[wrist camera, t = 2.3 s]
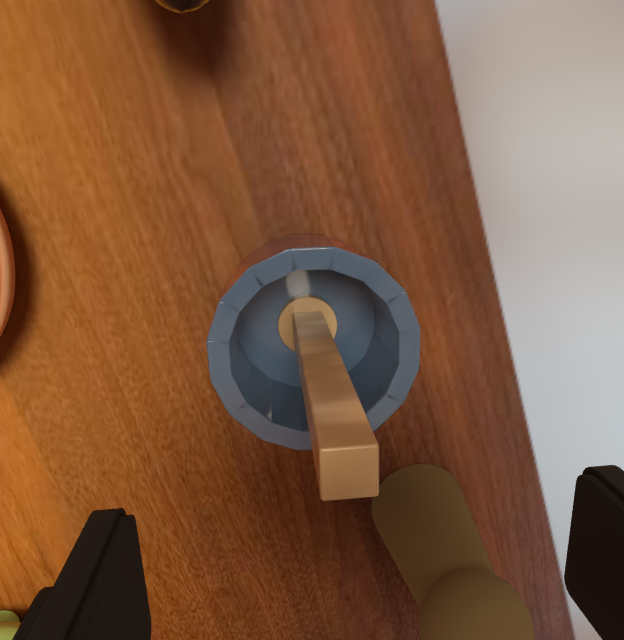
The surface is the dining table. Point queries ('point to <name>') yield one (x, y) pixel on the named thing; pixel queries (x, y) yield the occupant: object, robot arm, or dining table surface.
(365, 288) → the holder
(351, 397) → the stick
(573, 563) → the robot arm
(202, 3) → the banana
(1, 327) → the saucer
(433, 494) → the pepper shaker
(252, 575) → the dining table surface
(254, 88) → the dining table surface
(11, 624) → the teapot
